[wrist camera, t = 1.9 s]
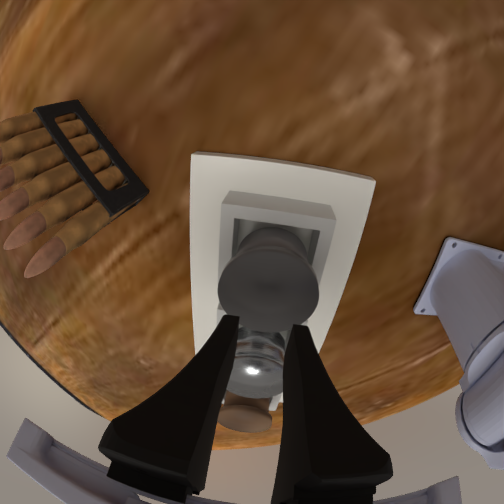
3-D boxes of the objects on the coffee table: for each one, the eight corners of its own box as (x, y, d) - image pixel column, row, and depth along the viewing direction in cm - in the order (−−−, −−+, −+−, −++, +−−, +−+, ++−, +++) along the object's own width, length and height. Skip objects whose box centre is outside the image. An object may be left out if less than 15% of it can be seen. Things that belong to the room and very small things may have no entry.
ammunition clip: (65, 115, 16) (-52, 152, 6) (77, 98, 16) (-48, 128, 5) (135, 205, 20) (33, 298, 10) (150, 191, 19) (41, 283, 9)
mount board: (370, 176, 17) (388, 193, 14) (295, 395, 31) (294, 420, 27) (196, 151, 17) (177, 162, 14) (200, 381, 31) (194, 405, 28)
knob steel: (296, 325, 20) (296, 365, 16) (283, 366, 22) (281, 401, 19) (226, 316, 20) (216, 354, 17) (224, 357, 22) (216, 392, 19)
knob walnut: (278, 382, 24) (275, 415, 20) (270, 406, 26) (267, 434, 23) (223, 374, 24) (216, 407, 21) (222, 399, 26) (216, 427, 23)
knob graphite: (322, 227, 15) (330, 261, 12) (304, 297, 18) (306, 337, 15) (233, 214, 16) (219, 245, 13) (228, 286, 18) (216, 324, 15)
